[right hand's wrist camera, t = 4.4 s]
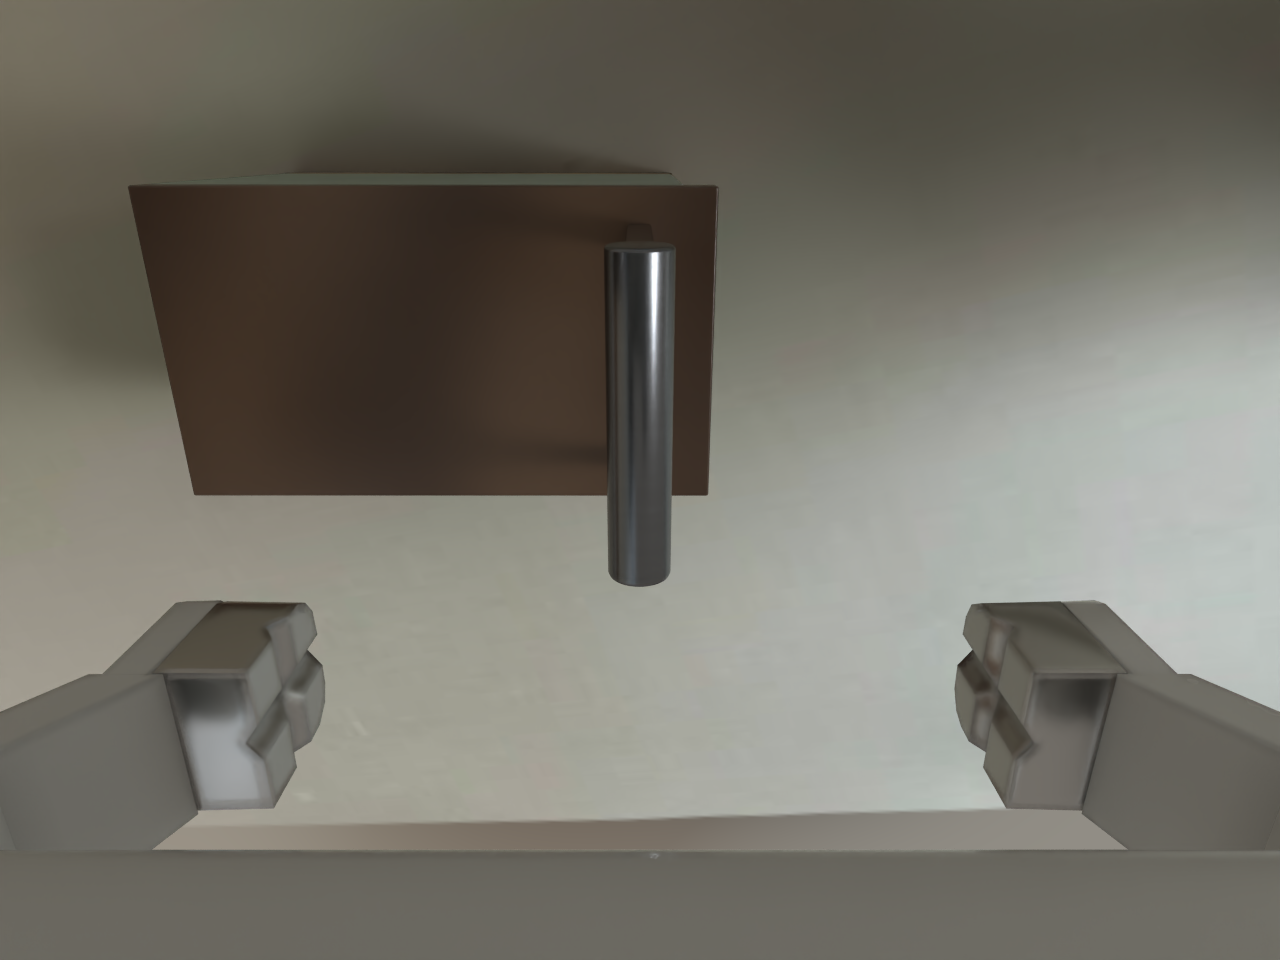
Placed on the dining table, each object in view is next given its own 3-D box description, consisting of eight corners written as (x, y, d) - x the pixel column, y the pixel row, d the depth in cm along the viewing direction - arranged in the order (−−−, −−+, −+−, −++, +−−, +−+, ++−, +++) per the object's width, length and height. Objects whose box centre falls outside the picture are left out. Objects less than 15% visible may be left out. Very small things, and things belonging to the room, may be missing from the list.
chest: (670, 173, 35) (684, 184, 24) (667, 393, 38) (678, 485, 28) (292, 172, 35) (144, 183, 24) (324, 392, 38) (207, 485, 28)
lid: (716, 184, 24) (754, 202, 16) (706, 485, 28) (733, 619, 20) (144, 183, 24) (-95, 202, 16) (207, 485, 28) (35, 619, 20)
